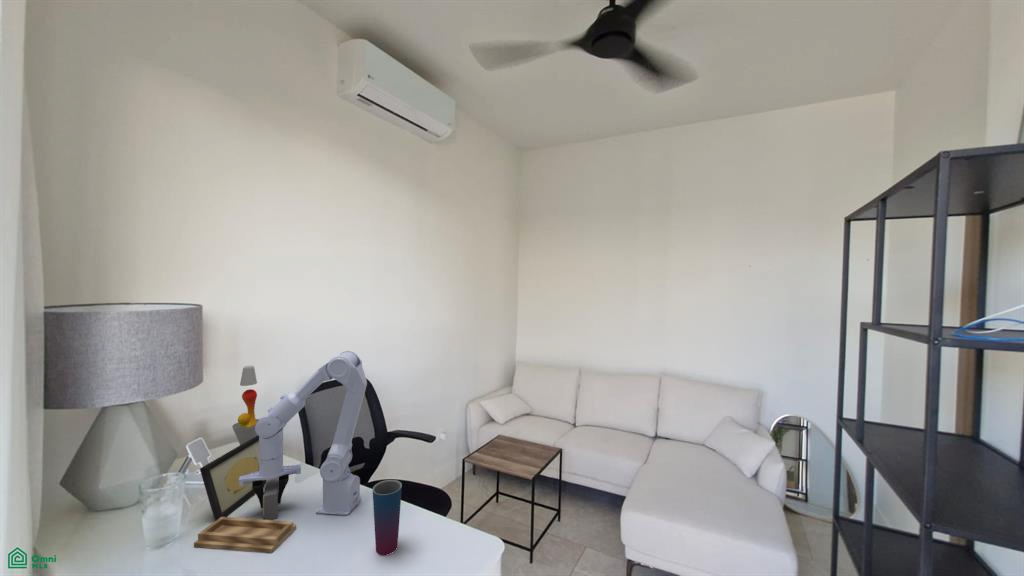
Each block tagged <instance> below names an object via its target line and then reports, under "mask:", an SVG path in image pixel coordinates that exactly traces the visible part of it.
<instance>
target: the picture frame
mask: <svg viewBox="0 0 1024 576" xmlns="http://www.w3.org/2000/svg"><path fill="white" fill-rule="evenodd" d="M257 471H259V436H258V435H257V436H255V437H254V438H252V439H250V440H248V441H247V442H245V443H243V444H241V445H240V444H239V445H238V446H236V447H234V448H232V449H230V450H229V451H228V452H226V453H224V454H222V455H221V456H219V457H217V458H216V459H214V460H212V461H211V462H209V463H207V464H205V465H204V466H201V467H200V468H199V472H200V474H201V478H202V481H203V485H204V488H205V492H206V495H207V499H208V503H209V506H210V509H211V513H212V516H213V519H214V520H213V521H214V522H215V521H216V520H218V519H219V518H221V517H228V515H230V514H231V512H233V511H234V510H236V509H237V508H238V507H239V506H241V505H242V504H244V503H245V502H246V501H247V500H249V498H250V497H252V496H253V495H256V493H255V492H254V491H253V489H252V483H249V484H244V486H240V487H239V478H240V476H244V475H248V474H251V473H254V472H257ZM265 484H266V480H264V487H265Z"/></svg>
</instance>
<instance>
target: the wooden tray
mask: <svg viewBox="0 0 1024 576" xmlns="http://www.w3.org/2000/svg"><path fill="white" fill-rule="evenodd" d="M294 523H295V522H294V521H288V520H287V521H286V520H276V519H275V520H264V519H260V518H258V519H257V518H244V517H233V516H232V517H228V516H226V517H221V518H219V519H218V520H216V521H215V520H214V522H212V523H211V524H209V525H208V526H207V527H205V528H204V529H203V530H201V531H200V532H198V533H197V540H196V541H195V542H193V548H203V549H214V550H227V551H228V550H229V551H238V552H239V551H240V552H252V553H253V552H254V553H266V554H272V553H273V552H275V550H277V548H278V547H280V546H281V544H283V542H285V541H286V540H287V539H288V537H290V536H291V535H292V534H293V533H294V531H296V530H297V524H294Z"/></svg>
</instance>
